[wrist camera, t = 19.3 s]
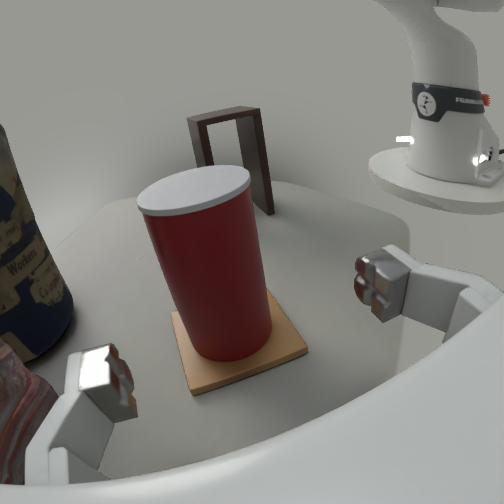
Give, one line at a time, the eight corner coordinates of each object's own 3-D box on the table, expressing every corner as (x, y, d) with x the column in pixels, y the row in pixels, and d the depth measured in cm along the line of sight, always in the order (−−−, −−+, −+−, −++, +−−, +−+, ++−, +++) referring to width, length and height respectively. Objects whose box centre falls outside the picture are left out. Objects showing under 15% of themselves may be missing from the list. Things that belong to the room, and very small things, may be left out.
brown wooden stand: (254, 195, 37) (240, 106, 31) (275, 213, 32) (260, 108, 26) (207, 209, 36) (186, 117, 30) (220, 230, 31) (196, 121, 25)
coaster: (263, 287, 22) (262, 281, 22) (308, 353, 17) (307, 346, 16) (172, 318, 21) (170, 312, 20) (192, 396, 15) (189, 390, 15)
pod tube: (255, 291, 21) (229, 158, 16) (288, 342, 17) (268, 183, 12) (181, 317, 20) (135, 185, 15) (200, 376, 16) (137, 223, 11)
